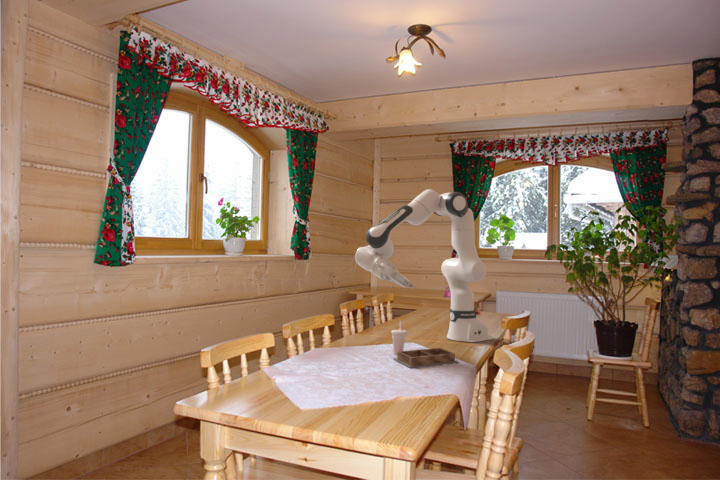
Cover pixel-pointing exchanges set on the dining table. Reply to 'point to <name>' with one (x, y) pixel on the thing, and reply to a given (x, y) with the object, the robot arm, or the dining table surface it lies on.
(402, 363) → the mat
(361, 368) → the dining table surface
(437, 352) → the tray
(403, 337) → the smoothie
